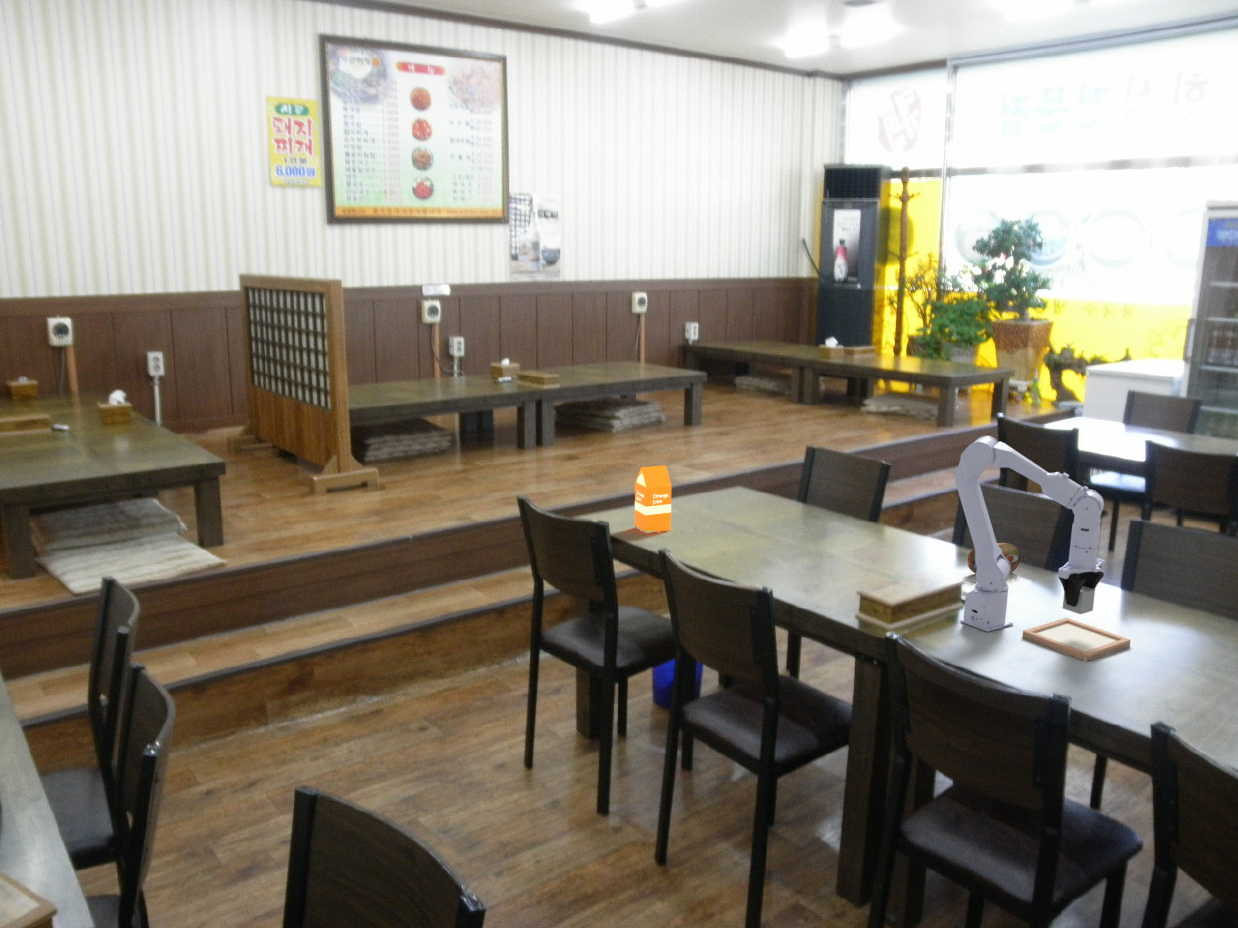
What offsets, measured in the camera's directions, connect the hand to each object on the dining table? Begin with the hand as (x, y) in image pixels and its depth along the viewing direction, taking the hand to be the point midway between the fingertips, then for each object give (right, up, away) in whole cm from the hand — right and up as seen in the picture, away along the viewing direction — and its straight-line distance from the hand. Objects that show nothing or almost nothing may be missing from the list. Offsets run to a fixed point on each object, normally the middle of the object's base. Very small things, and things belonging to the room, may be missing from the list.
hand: (1078, 603), depth 233 cm
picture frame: (-1, -9, 0) cm, 9 cm away
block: (0, -1, 0) cm, 2 cm away
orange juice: (-93, +11, +87) cm, 128 cm away
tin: (-2, +1, +48) cm, 48 cm away
